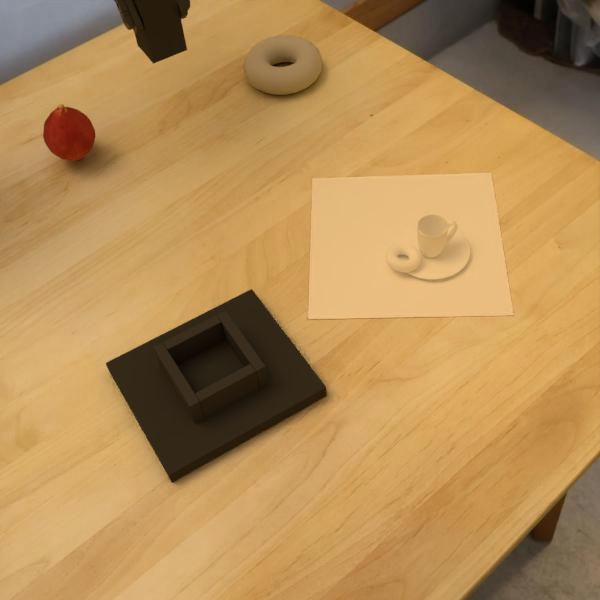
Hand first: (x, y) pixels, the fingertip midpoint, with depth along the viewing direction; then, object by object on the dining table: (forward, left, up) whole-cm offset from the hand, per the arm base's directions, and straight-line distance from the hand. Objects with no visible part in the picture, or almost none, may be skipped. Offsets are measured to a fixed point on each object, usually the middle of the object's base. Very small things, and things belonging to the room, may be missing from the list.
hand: (161, 23), depth 87 cm
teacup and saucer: (+13, -25, -18) cm, 34 cm away
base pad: (-12, -30, -18) cm, 37 cm away
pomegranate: (-11, +8, -18) cm, 23 cm away
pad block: (0, +2, -4) cm, 5 cm away
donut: (+17, +7, -18) cm, 25 cm away
